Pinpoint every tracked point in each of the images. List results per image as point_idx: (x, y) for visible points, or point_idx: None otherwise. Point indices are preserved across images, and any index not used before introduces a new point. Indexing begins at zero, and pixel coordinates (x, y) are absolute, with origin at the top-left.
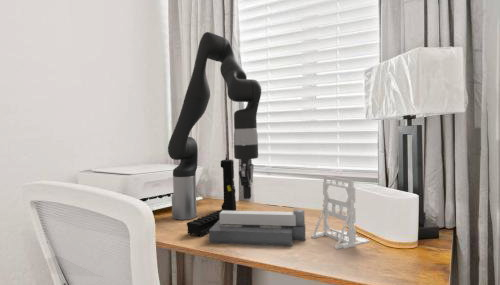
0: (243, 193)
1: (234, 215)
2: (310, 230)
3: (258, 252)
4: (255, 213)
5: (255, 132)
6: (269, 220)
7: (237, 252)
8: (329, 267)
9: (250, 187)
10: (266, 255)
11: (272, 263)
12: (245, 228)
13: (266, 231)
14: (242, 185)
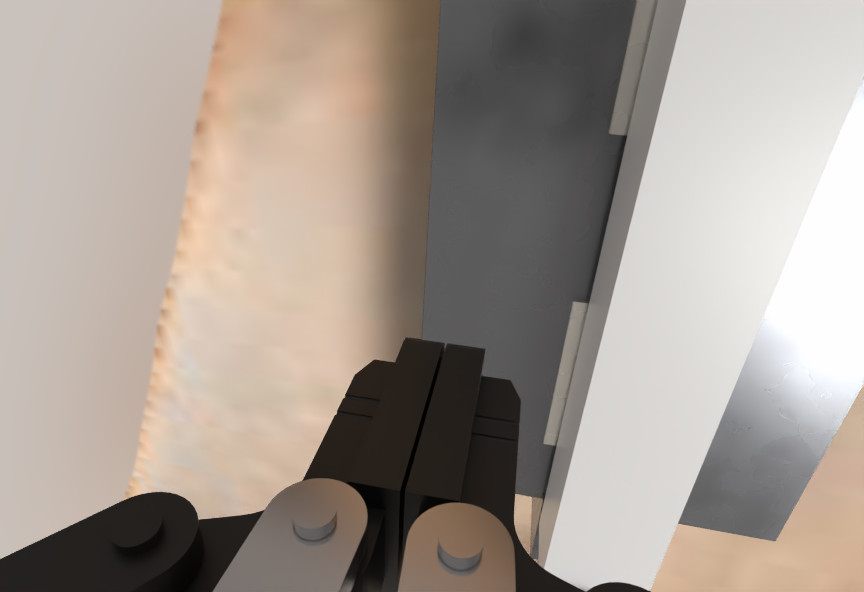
0: (388, 383)
1: (664, 64)
2: (725, 548)
3: (309, 242)
4: (636, 327)
5: None
6: (575, 403)
7: (286, 105)
8: (204, 496)
9: (383, 581)
10: (273, 284)
11: (178, 307)
12: (529, 176)
13: (442, 341)
14: (140, 514)
